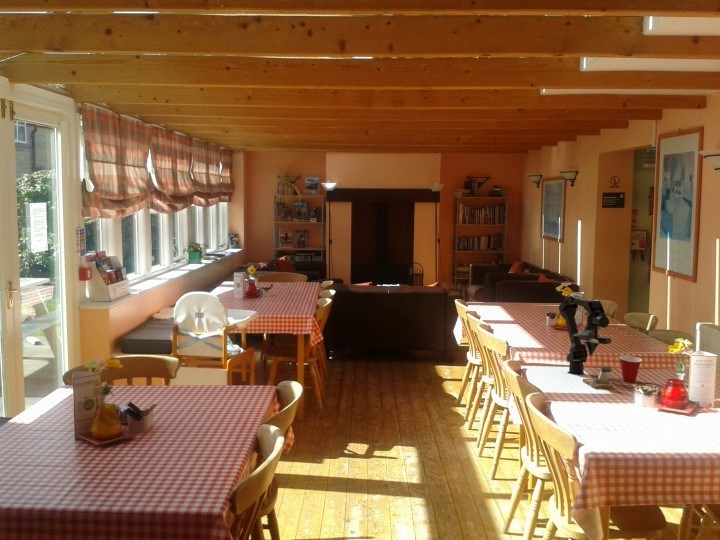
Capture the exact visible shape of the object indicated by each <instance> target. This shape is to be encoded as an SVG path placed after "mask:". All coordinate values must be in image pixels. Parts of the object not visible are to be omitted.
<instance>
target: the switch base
mask: <svg viewBox="0 0 720 540" xmlns="http://www.w3.org/2000/svg"><path fill="white" fill-rule="evenodd" d="M582 383H584V384H586V385H587V386H589V387H591V388H592V389H595V390H598V389H599V390H614V385H612V384H611V379H610V378H608V380H607V382H606V384H598V377H597V378H596V377H593V378H582Z"/></svg>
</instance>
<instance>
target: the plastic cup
mask: <svg viewBox="0 0 720 540" xmlns="http://www.w3.org/2000/svg"><path fill="white" fill-rule="evenodd" d="M618 358H619V360H620V367H621V374H622V381H623V380H624V381H623V382H625V381H626V383H636V380H637V376H638V373H639V369H640V366H641V363H642V362H643V359H642V358H640V357H636V356H630V355H620V356H619V357H618Z"/></svg>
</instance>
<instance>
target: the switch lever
mask: <svg viewBox="0 0 720 540" xmlns="http://www.w3.org/2000/svg"><path fill="white" fill-rule="evenodd" d="M599 368H600V369H599V370H600V371H599V374H598V376H597V379H598V384H606V382H607V380H608V379H609V377H610V374H611V373H612V371H613V369H612V367H611V366H600V367H599Z"/></svg>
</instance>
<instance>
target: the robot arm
mask: <svg viewBox="0 0 720 540" xmlns="http://www.w3.org/2000/svg"><path fill="white" fill-rule="evenodd" d="M558 305H559V306H558V311H559V312H560V316H562V318H563V319H564V320H565V324H566V329H567V331H568V335H569V341H570V344H571V345H570V347H569V353H568V355H567V356H566V361H567V362H568V363H569V368H568V371H567V374H571V373H572V374H573V375H576V374H577V376H578V375H583V374H582V373H584V374H585V372H584V370H585V369H584V368H585V366H584V363H586V362H587V359H588V356H591V357H593V354H594V353H595V351H596V349H597V347H598V346H599V345H600V344H601V345H602V344H603V345H607V344H609V345H610V344H612V339H611V337H607V336H600V334H599V330H600V328H604V329H605V328H607V327H608V326H609V325H610V319H609V318H608V316H607V314H606V313H605V309H604V307H603V304H602V302H601V301H600V300H599V299H596V300H595V299H587V298H585V297H582V296H579V295H577V294H576V295H572V294H571V295H569V296H568V297H567V298H566V299H564V300H562V301H561V303H560V304H558ZM578 307H583V309H584V310H585V311H586V312H585V313H584V315H585V316H586V326H584V330H582V331H581V332H580V333H579V330H578V327H577V326H578V325H577V321H576V318H575V316H576V314H577V309H578Z"/></svg>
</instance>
